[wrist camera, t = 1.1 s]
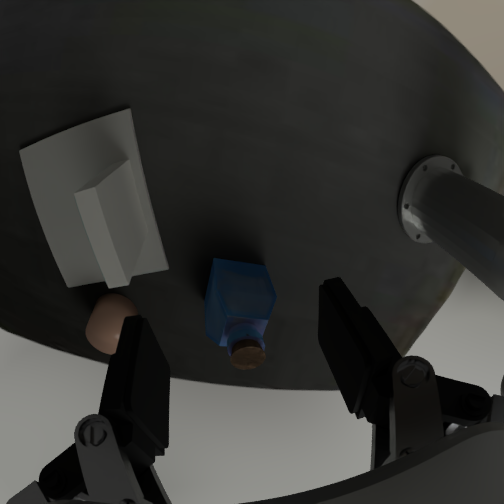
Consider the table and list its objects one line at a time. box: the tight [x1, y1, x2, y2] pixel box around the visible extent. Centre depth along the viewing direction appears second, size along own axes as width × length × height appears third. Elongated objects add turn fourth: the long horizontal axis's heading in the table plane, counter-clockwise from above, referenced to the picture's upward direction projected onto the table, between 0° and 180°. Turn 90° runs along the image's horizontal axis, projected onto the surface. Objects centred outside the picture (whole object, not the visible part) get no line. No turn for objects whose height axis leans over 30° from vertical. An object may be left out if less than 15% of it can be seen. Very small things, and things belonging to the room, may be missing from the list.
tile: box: [74, 159, 148, 288], centre depth 23 cm, size 2×8×10 cm, turn 7°
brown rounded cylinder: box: [86, 293, 138, 354], centre depth 33 cm, size 6×6×5 cm
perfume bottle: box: [205, 258, 277, 369], centre depth 30 cm, size 6×6×12 cm
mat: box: [19, 109, 169, 288], centre depth 28 cm, size 14×18×1 cm
